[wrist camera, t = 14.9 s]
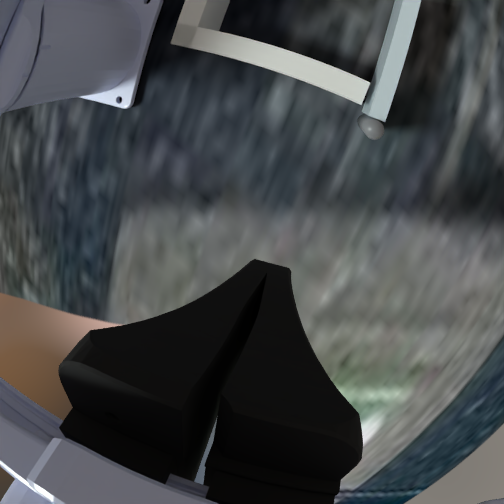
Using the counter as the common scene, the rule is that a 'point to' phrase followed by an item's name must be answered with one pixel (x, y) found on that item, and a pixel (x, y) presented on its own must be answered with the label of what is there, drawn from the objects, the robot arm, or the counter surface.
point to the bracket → (258, 50)
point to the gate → (389, 67)
